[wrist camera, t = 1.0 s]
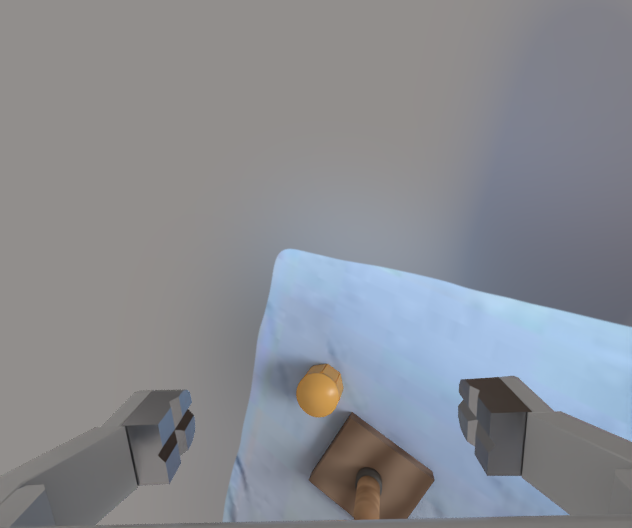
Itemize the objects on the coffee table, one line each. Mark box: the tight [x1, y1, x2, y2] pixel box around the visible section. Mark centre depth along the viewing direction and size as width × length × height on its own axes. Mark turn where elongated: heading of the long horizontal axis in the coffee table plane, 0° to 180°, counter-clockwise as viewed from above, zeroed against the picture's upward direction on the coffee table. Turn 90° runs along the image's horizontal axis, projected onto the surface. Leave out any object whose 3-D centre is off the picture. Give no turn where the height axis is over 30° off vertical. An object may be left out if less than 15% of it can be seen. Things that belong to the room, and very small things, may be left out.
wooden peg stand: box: [309, 412, 434, 520], centre depth 44 cm, size 14×12×9 cm
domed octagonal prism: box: [296, 364, 343, 417], centre depth 48 cm, size 6×6×5 cm
